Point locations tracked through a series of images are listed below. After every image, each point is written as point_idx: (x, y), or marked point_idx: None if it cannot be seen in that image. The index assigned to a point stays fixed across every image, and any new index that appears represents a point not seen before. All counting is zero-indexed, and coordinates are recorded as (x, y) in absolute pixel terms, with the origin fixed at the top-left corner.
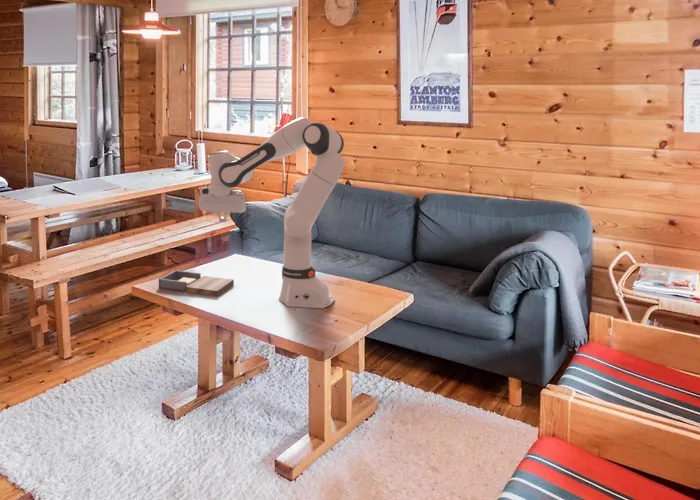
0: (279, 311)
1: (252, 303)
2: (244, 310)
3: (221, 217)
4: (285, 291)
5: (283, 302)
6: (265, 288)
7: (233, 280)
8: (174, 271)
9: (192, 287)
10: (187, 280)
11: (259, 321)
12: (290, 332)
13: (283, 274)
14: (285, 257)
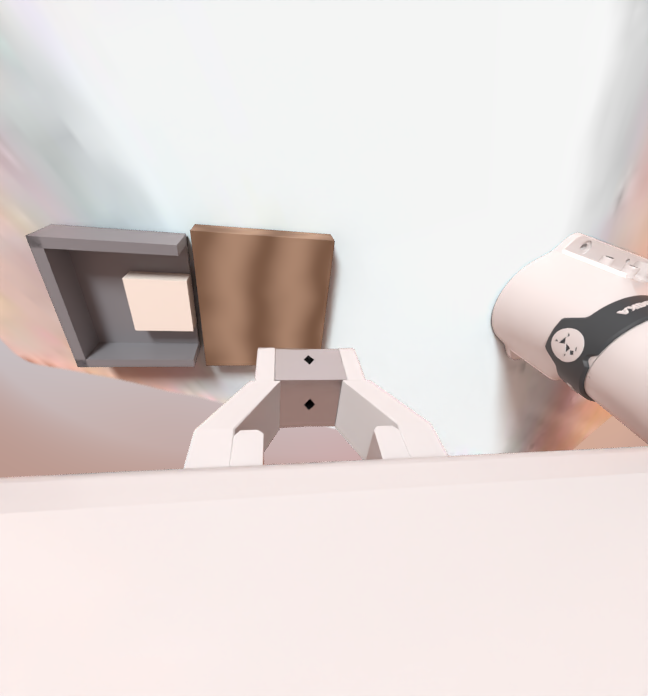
0: (486, 385)
1: (421, 362)
2: (407, 403)
3: (282, 399)
4: (528, 358)
5: (501, 340)
6: (450, 229)
7: (333, 240)
8: (44, 260)
9: (230, 363)
10: (167, 310)
11: (444, 436)
12: (498, 452)
13: (560, 376)
14: (623, 423)
